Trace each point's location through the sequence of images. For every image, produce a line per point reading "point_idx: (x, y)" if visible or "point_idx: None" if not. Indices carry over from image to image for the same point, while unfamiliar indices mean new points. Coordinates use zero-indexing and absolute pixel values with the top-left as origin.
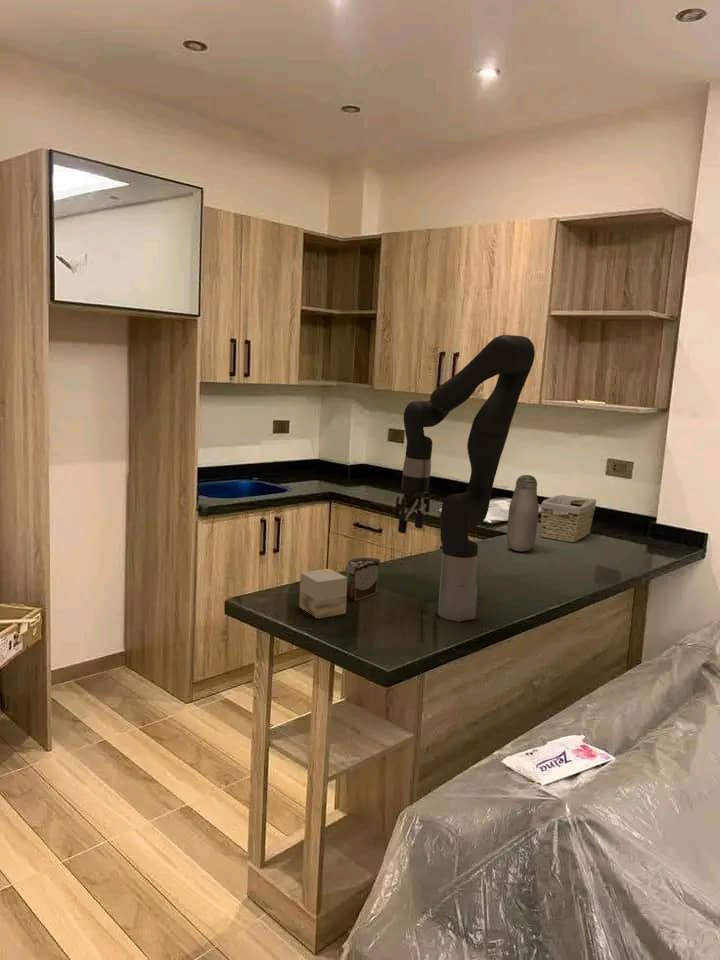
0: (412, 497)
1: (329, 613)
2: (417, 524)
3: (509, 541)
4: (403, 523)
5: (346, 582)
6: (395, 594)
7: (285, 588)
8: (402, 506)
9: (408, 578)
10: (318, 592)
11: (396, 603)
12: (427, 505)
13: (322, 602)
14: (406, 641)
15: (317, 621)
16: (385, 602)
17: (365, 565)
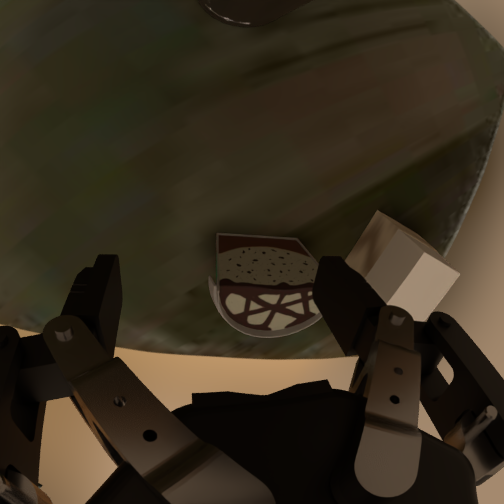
0: (439, 499)
1: (405, 227)
2: (118, 296)
3: None
4: (379, 301)
5: (418, 246)
6: (186, 192)
7: (302, 354)
8: (499, 384)
9: (48, 242)
10: (445, 260)
11: (254, 151)
12: (3, 392)
13: (428, 245)
14: (444, 50)
15: (426, 225)
16: (265, 178)
17: (289, 289)
